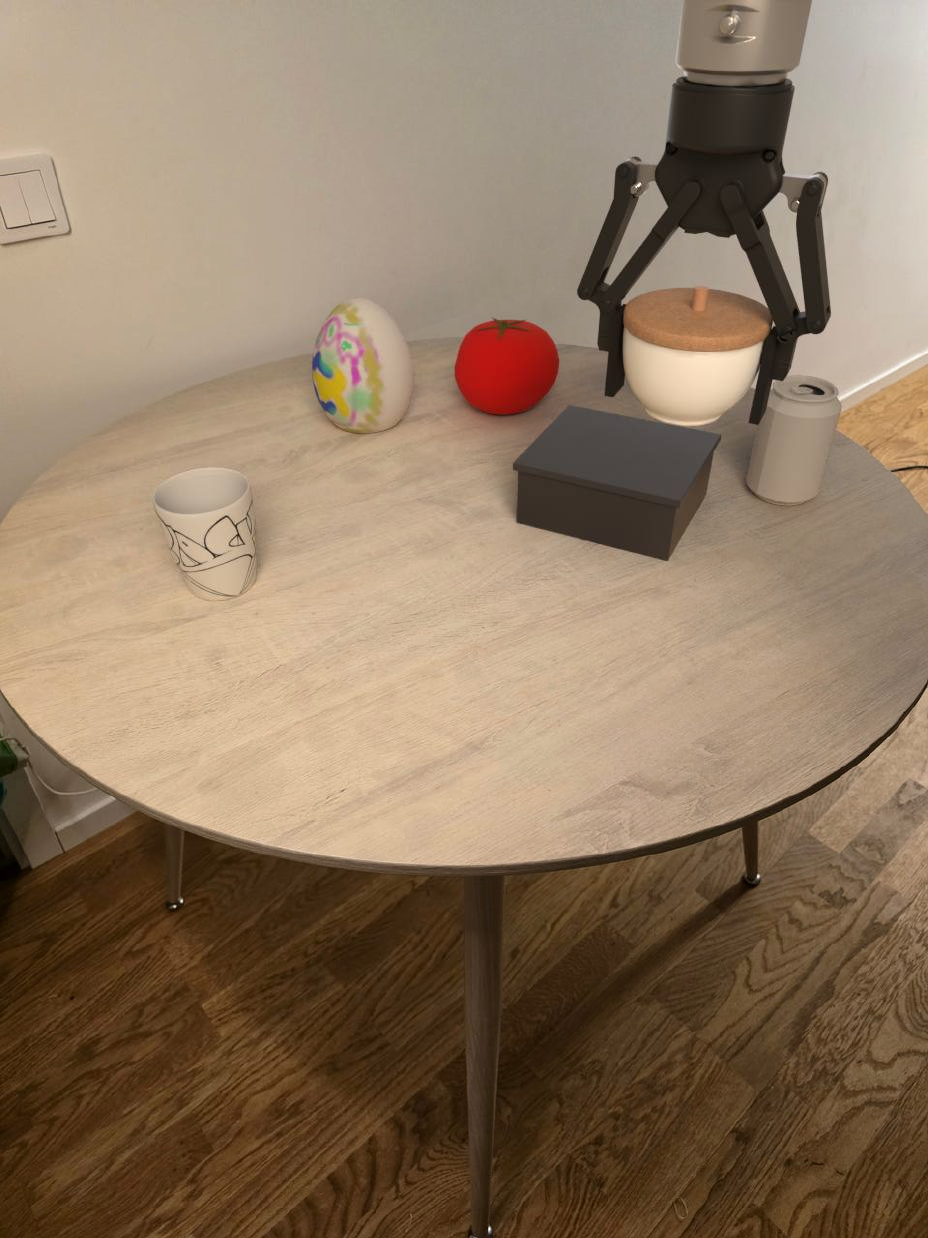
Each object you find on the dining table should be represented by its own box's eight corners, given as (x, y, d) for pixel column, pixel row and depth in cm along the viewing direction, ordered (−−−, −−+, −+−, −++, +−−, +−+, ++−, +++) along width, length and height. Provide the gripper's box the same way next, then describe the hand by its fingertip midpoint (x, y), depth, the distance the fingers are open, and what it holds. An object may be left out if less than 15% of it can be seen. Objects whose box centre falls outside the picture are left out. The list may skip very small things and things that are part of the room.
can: (832, 497, 92) (863, 390, 84) (781, 516, 89) (808, 407, 81) (779, 468, 97) (804, 364, 89) (729, 486, 94) (750, 380, 87)
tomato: (436, 408, 111) (433, 322, 104) (506, 378, 118) (507, 296, 111) (505, 437, 104) (506, 347, 97) (573, 403, 111) (579, 317, 104)
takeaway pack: (711, 493, 93) (721, 434, 88) (670, 564, 83) (680, 501, 78) (565, 461, 99) (569, 404, 95) (511, 523, 89) (512, 462, 84)
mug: (149, 566, 84) (121, 475, 78) (227, 535, 88) (207, 446, 82) (202, 621, 77) (177, 526, 71) (284, 584, 81) (267, 491, 75)
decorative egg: (299, 419, 109) (281, 299, 100) (376, 390, 115) (366, 275, 106) (357, 452, 102) (344, 325, 93) (436, 419, 108) (431, 298, 99)
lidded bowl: (586, 408, 69) (596, 287, 63) (669, 370, 74) (685, 256, 68) (698, 454, 62) (720, 325, 56) (780, 409, 68) (808, 288, 62)
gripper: (540, 73, 56) (529, 395, 70) (930, 93, 47) (829, 453, 61) (581, 60, 61) (563, 361, 75) (940, 75, 53) (845, 411, 66)
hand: (683, 403), depth 68 cm, fingers closed on lidded bowl, 11 cm apart
